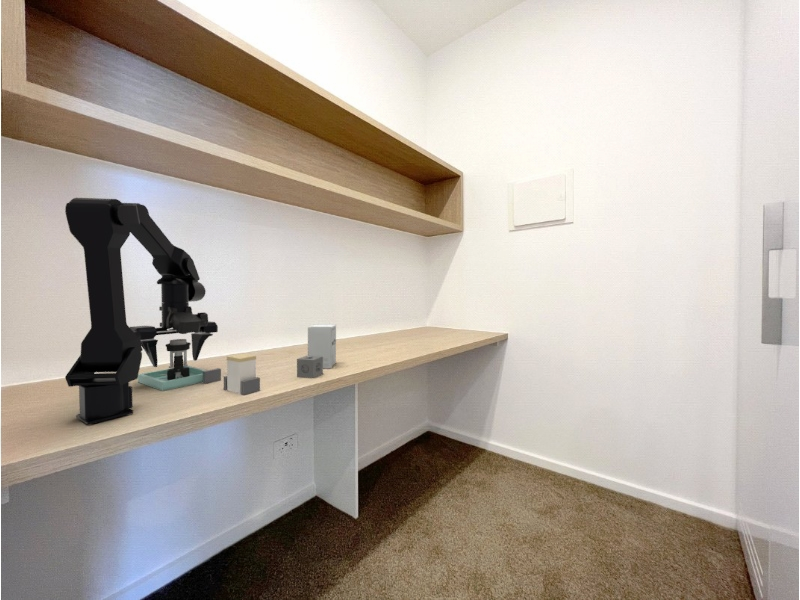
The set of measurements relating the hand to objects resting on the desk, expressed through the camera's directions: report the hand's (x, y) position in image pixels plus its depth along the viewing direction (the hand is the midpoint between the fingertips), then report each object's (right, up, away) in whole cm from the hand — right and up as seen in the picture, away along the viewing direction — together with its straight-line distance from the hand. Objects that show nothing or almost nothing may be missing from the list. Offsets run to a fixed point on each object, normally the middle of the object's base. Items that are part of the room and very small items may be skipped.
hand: (176, 363), depth 84 cm
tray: (0, -5, 0) cm, 4 cm away
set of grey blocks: (+16, -5, -5) cm, 18 cm away
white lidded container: (+20, -5, -7) cm, 22 cm away
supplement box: (+33, -4, +18) cm, 38 cm away
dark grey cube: (+33, -5, +6) cm, 34 cm away
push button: (0, -4, 0) cm, 4 cm away
